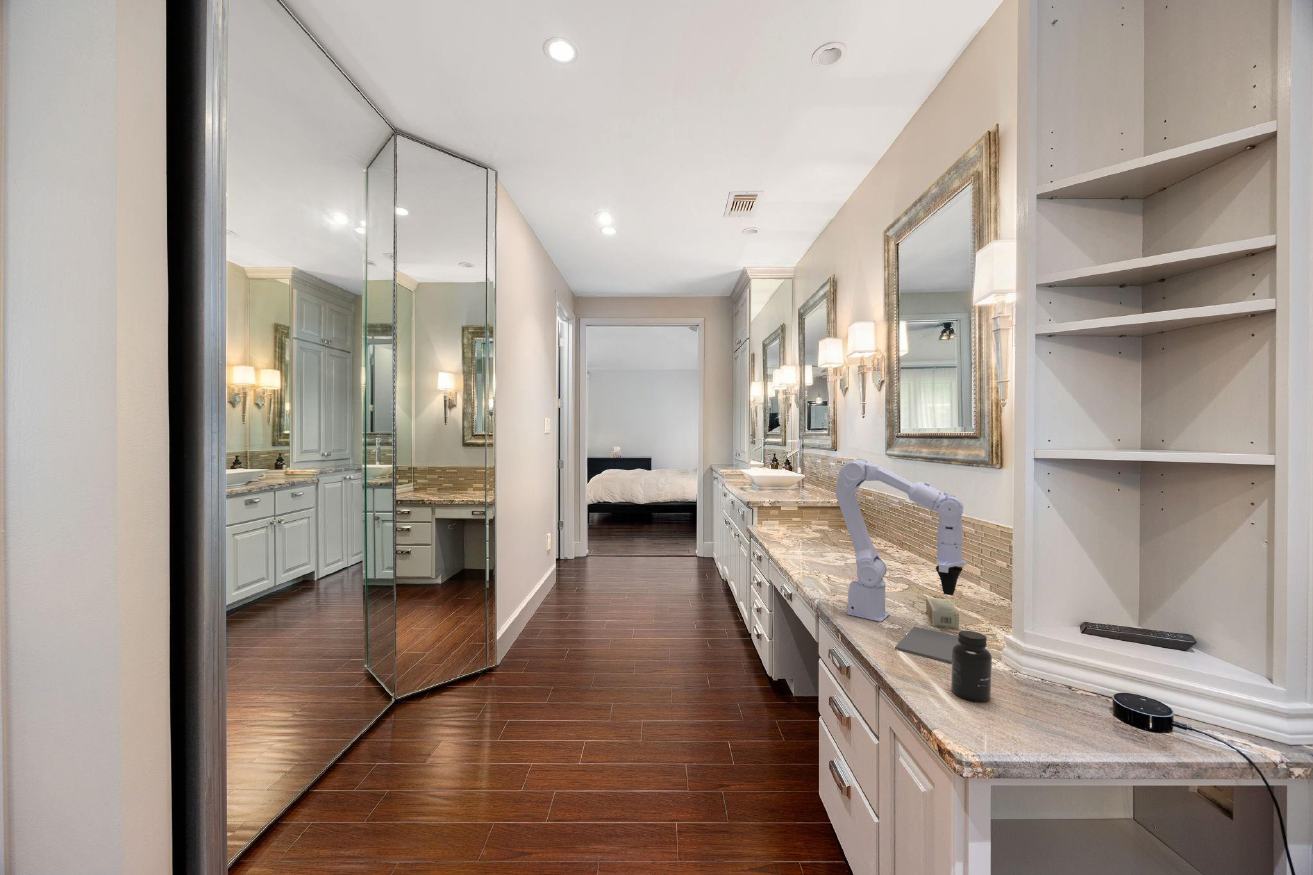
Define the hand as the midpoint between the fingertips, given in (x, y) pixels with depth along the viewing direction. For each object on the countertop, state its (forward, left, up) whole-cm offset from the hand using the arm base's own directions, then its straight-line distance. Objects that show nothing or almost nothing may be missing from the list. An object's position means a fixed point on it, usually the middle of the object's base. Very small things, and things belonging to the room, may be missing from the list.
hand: (948, 594), depth 142 cm
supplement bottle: (+11, -35, -10) cm, 38 cm away
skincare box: (-1, +1, -7) cm, 7 cm away
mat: (0, -14, -9) cm, 17 cm away
